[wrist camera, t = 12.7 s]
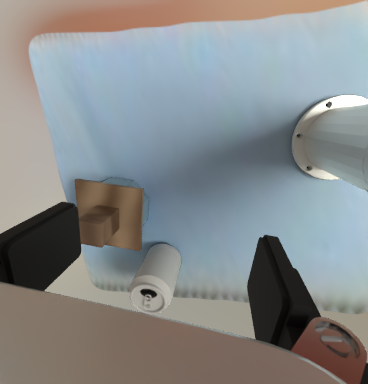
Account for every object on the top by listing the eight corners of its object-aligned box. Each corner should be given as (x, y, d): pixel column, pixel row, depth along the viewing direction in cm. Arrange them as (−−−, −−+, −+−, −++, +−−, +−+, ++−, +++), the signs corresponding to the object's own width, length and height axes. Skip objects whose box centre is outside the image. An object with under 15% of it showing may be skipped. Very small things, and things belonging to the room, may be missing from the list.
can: (183, 243, 44) (170, 286, 32) (181, 273, 46) (169, 322, 35) (148, 239, 45) (124, 279, 33) (148, 268, 47) (126, 314, 36)
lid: (143, 188, 35) (127, 203, 29) (141, 248, 39) (126, 273, 33) (77, 178, 37) (48, 191, 30) (82, 237, 41) (57, 259, 34)
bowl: (149, 182, 40) (140, 190, 36) (147, 232, 44) (138, 246, 39) (95, 174, 42) (80, 181, 37) (98, 224, 45) (84, 236, 41)
